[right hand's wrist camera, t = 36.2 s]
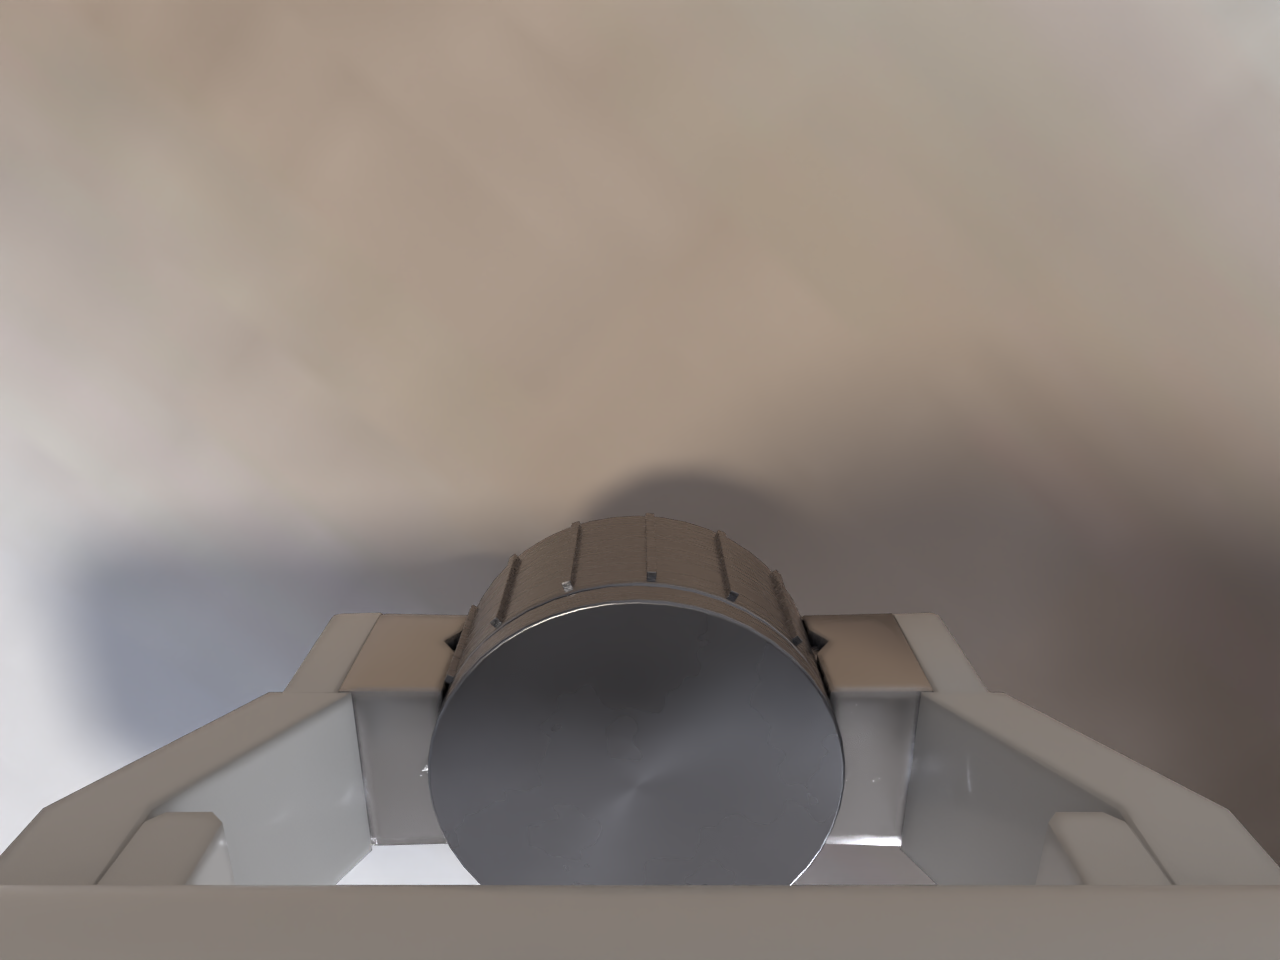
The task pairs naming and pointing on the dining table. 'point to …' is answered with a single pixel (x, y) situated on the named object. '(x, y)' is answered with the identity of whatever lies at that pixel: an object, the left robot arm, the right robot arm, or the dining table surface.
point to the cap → (636, 717)
